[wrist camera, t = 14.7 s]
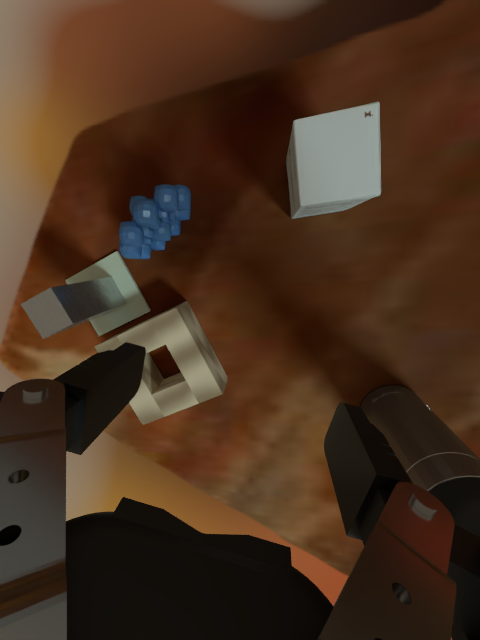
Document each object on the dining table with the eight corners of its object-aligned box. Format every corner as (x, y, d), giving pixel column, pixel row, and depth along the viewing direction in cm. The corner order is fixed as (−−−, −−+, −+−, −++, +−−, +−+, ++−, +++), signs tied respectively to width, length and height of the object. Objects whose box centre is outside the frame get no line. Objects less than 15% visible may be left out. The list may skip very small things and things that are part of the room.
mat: (151, 310, 43) (150, 311, 42) (100, 335, 45) (99, 336, 44) (117, 251, 41) (116, 251, 40) (66, 280, 43) (64, 280, 43)
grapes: (180, 172, 37) (139, 138, 26) (213, 211, 38) (188, 195, 26) (125, 233, 40) (67, 227, 29) (158, 268, 41) (113, 276, 29)
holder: (227, 378, 44) (222, 394, 39) (155, 406, 47) (142, 425, 42) (187, 300, 42) (176, 307, 37) (113, 336, 45) (94, 346, 40)
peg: (126, 303, 42) (73, 323, 31) (103, 314, 43) (43, 338, 32) (111, 276, 42) (50, 287, 30) (88, 288, 42) (20, 304, 31)
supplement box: (284, 160, 35) (291, 115, 23) (344, 150, 34) (383, 97, 22) (289, 220, 37) (298, 207, 25) (346, 212, 36) (384, 194, 24)
